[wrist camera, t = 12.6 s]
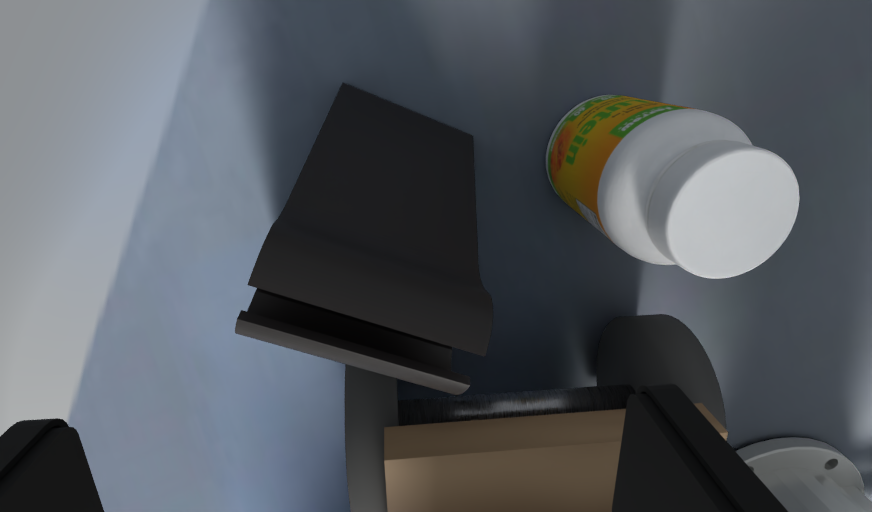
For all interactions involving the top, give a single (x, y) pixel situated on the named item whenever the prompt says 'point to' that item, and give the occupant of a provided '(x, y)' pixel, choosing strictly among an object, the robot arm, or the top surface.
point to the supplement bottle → (673, 184)
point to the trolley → (517, 431)
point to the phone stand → (377, 249)
